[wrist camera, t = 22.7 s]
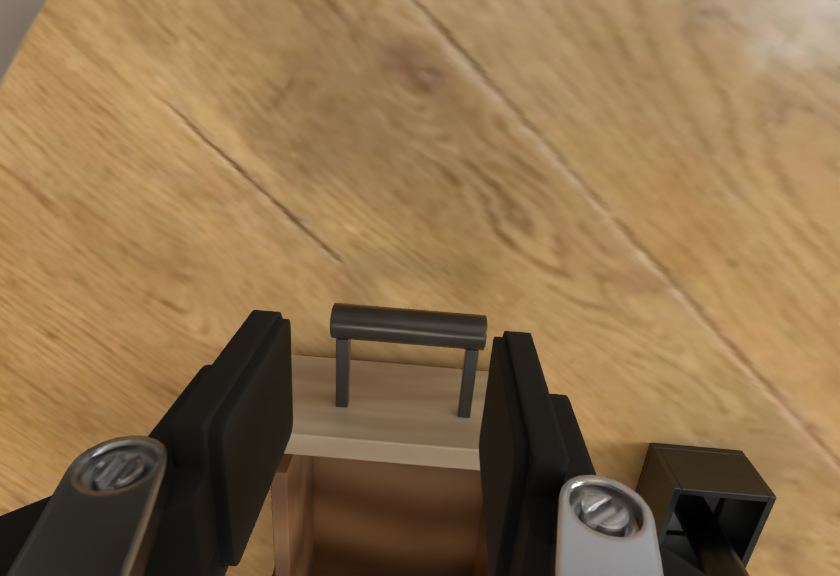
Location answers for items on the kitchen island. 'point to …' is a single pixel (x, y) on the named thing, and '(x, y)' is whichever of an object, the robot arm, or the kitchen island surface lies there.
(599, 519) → the robot arm
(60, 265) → the kitchen island surface
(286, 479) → the drawer
